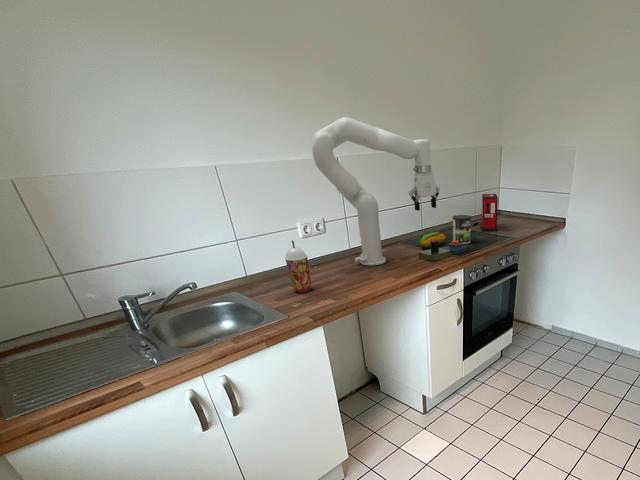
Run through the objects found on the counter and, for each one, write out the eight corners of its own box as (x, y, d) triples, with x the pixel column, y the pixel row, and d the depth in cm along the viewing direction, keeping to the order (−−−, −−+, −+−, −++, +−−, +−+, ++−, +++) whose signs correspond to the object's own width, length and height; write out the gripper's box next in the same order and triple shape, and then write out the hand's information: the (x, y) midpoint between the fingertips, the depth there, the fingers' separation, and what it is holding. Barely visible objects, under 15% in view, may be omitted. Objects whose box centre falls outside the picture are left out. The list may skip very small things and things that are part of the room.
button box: (454, 254, 198) (454, 247, 196) (442, 251, 204) (441, 244, 202) (468, 250, 205) (468, 243, 203) (456, 247, 210) (456, 240, 208)
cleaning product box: (496, 231, 244) (497, 197, 234) (482, 231, 244) (483, 197, 234) (494, 225, 258) (496, 193, 248) (481, 226, 258) (482, 194, 248)
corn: (415, 234, 206) (440, 227, 219) (415, 248, 210) (439, 241, 223) (425, 237, 202) (450, 230, 215) (425, 251, 206) (449, 244, 219)
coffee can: (474, 242, 221) (474, 216, 213) (460, 245, 215) (460, 218, 208) (462, 239, 228) (462, 214, 220) (449, 242, 222) (448, 216, 215)
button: (455, 245, 200) (455, 242, 199) (450, 244, 202) (450, 241, 202) (460, 244, 202) (460, 240, 202) (455, 243, 205) (455, 239, 204)
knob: (434, 252, 191) (434, 241, 188) (429, 251, 194) (428, 240, 191) (440, 251, 194) (440, 240, 191) (434, 249, 196) (434, 239, 193)
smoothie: (289, 290, 157) (277, 240, 147) (308, 285, 162) (297, 236, 152) (298, 295, 152) (286, 244, 142) (317, 289, 157) (307, 240, 147)
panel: (432, 261, 188) (432, 255, 187) (418, 258, 194) (418, 251, 193) (450, 256, 196) (450, 250, 194) (437, 252, 202) (437, 246, 201)
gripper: (412, 171, 171) (415, 212, 180) (443, 168, 180) (444, 207, 188) (403, 171, 176) (406, 210, 185) (433, 168, 185) (435, 205, 194)
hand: (425, 208), depth 187 cm, fingers open, 9 cm apart
